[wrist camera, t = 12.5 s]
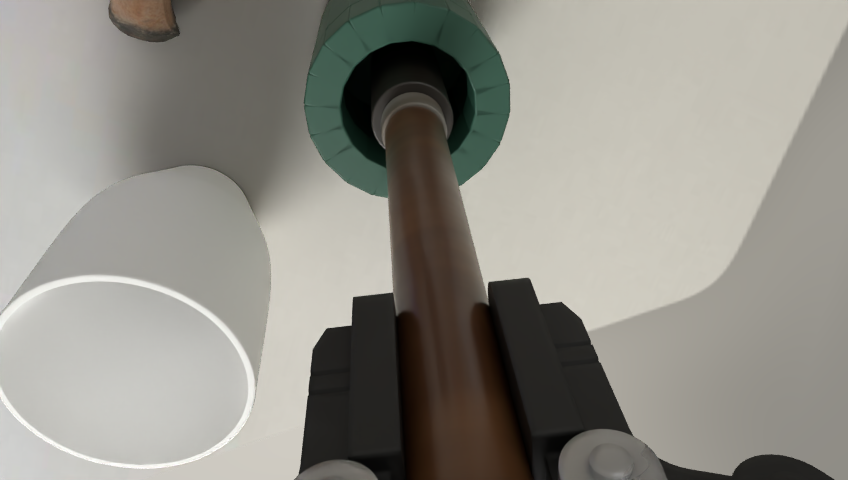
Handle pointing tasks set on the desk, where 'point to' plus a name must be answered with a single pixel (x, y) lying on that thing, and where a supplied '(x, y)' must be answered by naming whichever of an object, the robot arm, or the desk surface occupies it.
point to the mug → (142, 323)
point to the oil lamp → (144, 19)
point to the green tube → (351, 83)
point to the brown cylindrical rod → (439, 286)
